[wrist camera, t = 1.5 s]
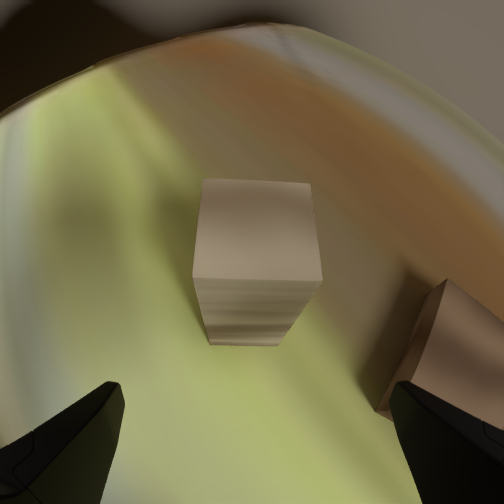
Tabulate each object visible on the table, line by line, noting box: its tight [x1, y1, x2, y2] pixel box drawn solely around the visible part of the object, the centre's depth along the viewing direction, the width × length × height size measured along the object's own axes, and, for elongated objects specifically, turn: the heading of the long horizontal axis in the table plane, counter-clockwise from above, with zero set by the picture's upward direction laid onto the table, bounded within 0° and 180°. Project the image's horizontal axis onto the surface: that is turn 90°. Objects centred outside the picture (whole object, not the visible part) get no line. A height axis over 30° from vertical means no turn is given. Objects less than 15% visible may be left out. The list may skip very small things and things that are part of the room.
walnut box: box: [375, 278, 504, 430], centre depth 20 cm, size 12×12×4 cm
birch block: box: [192, 179, 323, 346], centre depth 18 cm, size 5×5×12 cm
